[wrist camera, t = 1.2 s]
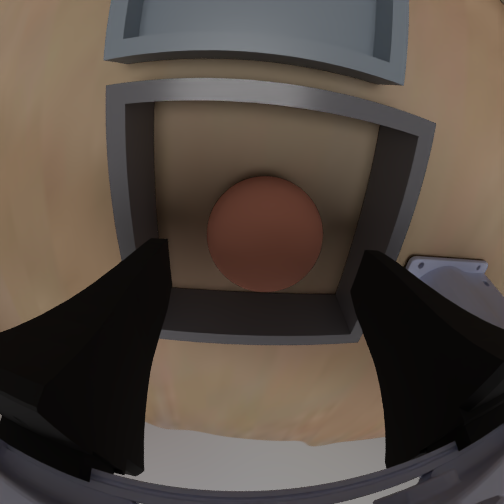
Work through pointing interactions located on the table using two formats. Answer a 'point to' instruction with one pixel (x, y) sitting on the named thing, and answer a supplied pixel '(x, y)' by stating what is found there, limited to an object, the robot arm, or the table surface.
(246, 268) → the ball
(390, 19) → the tray
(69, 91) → the table surface
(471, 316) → the robot arm
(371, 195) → the grey square frame
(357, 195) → the table surface
